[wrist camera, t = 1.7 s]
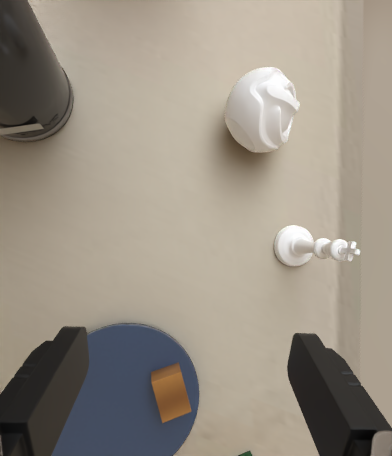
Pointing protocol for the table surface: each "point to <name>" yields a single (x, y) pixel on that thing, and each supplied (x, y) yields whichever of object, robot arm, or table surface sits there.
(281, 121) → the white round lump
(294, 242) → the chess piece
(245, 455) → the dish sponge
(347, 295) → the table surface
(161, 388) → the orange brown rectangular block
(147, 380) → the plate
